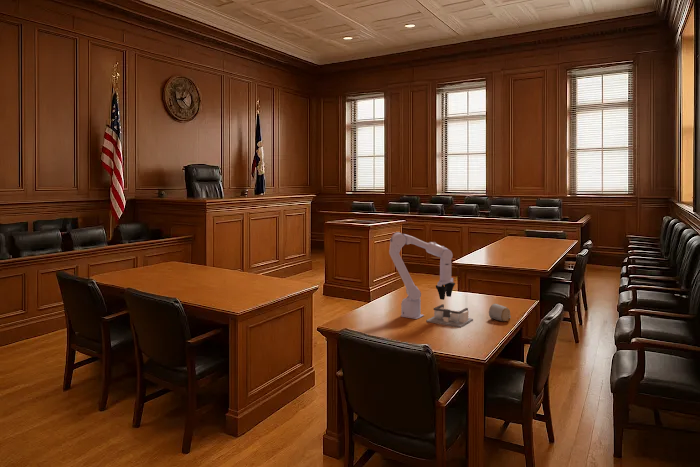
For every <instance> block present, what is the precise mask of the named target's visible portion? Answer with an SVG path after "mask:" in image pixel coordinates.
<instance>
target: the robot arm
mask: <svg viewBox="0 0 700 467" xmlns="http://www.w3.org/2000/svg"><path fill="white" fill-rule="evenodd" d="M410 244H411V245H415V246H416V247H419V248H422V249H425V252H426V253H428V254H430V255H433V256H435V257H437V258H440V261H439V281H437V284H436V285H435V289H436V290H437V293H438V297H439V299H440V300H445V297H448V298H449V297H450V298H451V297H452V293H453V289H454V287H455V285H456V283H455V282H454V277H452V259H453V255H454V254H453V252H452V250H451V249H449V248H447V247H445V245H440V244H438V243H437V242H436V241H429V242H426V241H424V240H422V239H419V238H417V237H415V236H412V235H409V234H406V233H402V232H399V231H398V232H394V233H392V235H391V237H390V239H389V248H388V249H389V250H388V254H389V256H390V258H391V261H392V262H393V264H394V267H395V268H396V270H397V272H398V275H399V276H400V278H401V279H402V280H401V281H402V282H403V284H404V286H405V289H406V290H405V291H406V292H405V293H406V295H407V296H406V297H405V298H403V299H402V301H401V304H400V305H401V313H400V314H401V315H400V317H402V318H407V319H408V318H409V319H415V320H418V319H420V318H422V317H424V316H425V315H424V314H421V313H422V312H421V311H422V310H421V305H422V303H421V302H422V300H421V297H422V292H421V290H420V289H419V288H418V286H417V285H415V283H414V281H413V279H412V277H411V275H410V273H409V271H408V269H407V267H406V265H405V263H404V260H403V258H402V257H401V254H400V253H401V250H402V248H403V247H404V246H405V245H406V246H407V245H410Z"/></svg>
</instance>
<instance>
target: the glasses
mask: <svg viewBox="0 0 700 467" xmlns="http://www.w3.org/2000/svg"><path fill="white" fill-rule="evenodd" d="M441 307H444V309H439V308H441ZM434 310H436V311H435V313H434V312H433V314H435V317H436V318H438V319H440V318H442V317H448V318H449V317H450V318H451V320H453V321H457V320H458V319H459V314H461V313H462V312H464V311H466V310H467V311H468V312H469V307H465V308H463V309H461V310H455V311H451V310H452V309H449V310H448V308H445V304H440V305H438V306H437V305H436V306H435V307H433V311H434ZM442 311H443V312H442ZM458 311H459V312H458ZM450 313H451V314H450Z"/></svg>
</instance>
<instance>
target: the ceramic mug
mask: <svg viewBox="0 0 700 467" xmlns="http://www.w3.org/2000/svg"><path fill="white" fill-rule="evenodd" d="M488 316H489V318H490V319H493V320H496V321H499V322H507V321H508V320H509V319H511V317H512V315H511V311H510V308H509V307H507V306H504V305H501V304H499V303H492V304H491V306H490V307H489V310H488Z"/></svg>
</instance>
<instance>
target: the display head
mask: <svg viewBox="0 0 700 467" xmlns="http://www.w3.org/2000/svg"><path fill="white" fill-rule="evenodd" d="M439 309H445V306H444V307H441V308H439ZM447 309H448V308H447ZM448 310H451V311H456V310H455V309H448ZM433 311H434V312H433V314H434V313H435V311H436V310H434V309H433ZM457 311H458V312H459V311H460V310H457ZM442 312H443V311H442ZM450 314H451V313H450ZM473 321H474V318H471V317H469V310H468V311H467V310H466V311H464V312H462V313H461V314H459V319H458V320H457V321H453V320H451V318H450V317H449V318H448V317H442V318H440V319H438V318H436V317H435V314H434V315H433V316H432V317H431V318H428V319H426V323H431V324H436V325H442V326H448V327H449V326H450V327H456V328H460V329H461V328H463V327H464V326H466V325H468V324H469V323H471V322H473Z"/></svg>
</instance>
